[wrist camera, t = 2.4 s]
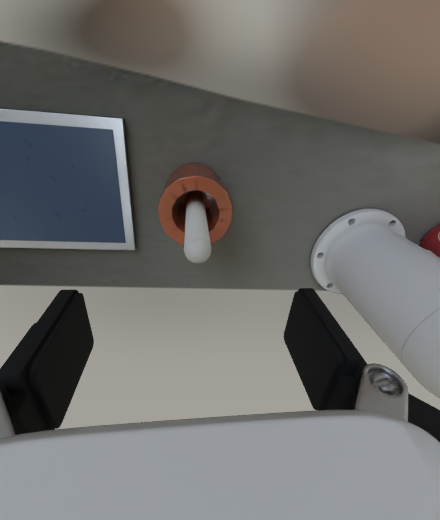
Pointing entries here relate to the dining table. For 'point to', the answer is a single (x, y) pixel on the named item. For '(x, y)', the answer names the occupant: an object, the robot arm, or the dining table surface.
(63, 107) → the dining table surface
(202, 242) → the stylus
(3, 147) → the tablet
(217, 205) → the holder
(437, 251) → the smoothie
